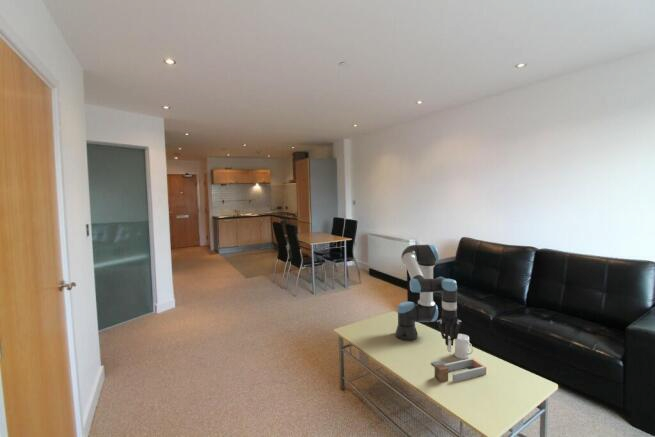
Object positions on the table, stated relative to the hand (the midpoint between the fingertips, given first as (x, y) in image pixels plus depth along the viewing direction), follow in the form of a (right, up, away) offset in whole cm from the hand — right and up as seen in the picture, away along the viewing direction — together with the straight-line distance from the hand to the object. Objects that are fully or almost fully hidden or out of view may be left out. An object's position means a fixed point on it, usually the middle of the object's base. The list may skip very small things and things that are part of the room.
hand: (449, 350), depth 171 cm
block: (-5, -15, -1) cm, 15 cm away
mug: (+17, -13, +21) cm, 30 cm away
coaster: (0, -14, +12) cm, 18 cm away
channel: (+9, -14, +4) cm, 17 cm away
